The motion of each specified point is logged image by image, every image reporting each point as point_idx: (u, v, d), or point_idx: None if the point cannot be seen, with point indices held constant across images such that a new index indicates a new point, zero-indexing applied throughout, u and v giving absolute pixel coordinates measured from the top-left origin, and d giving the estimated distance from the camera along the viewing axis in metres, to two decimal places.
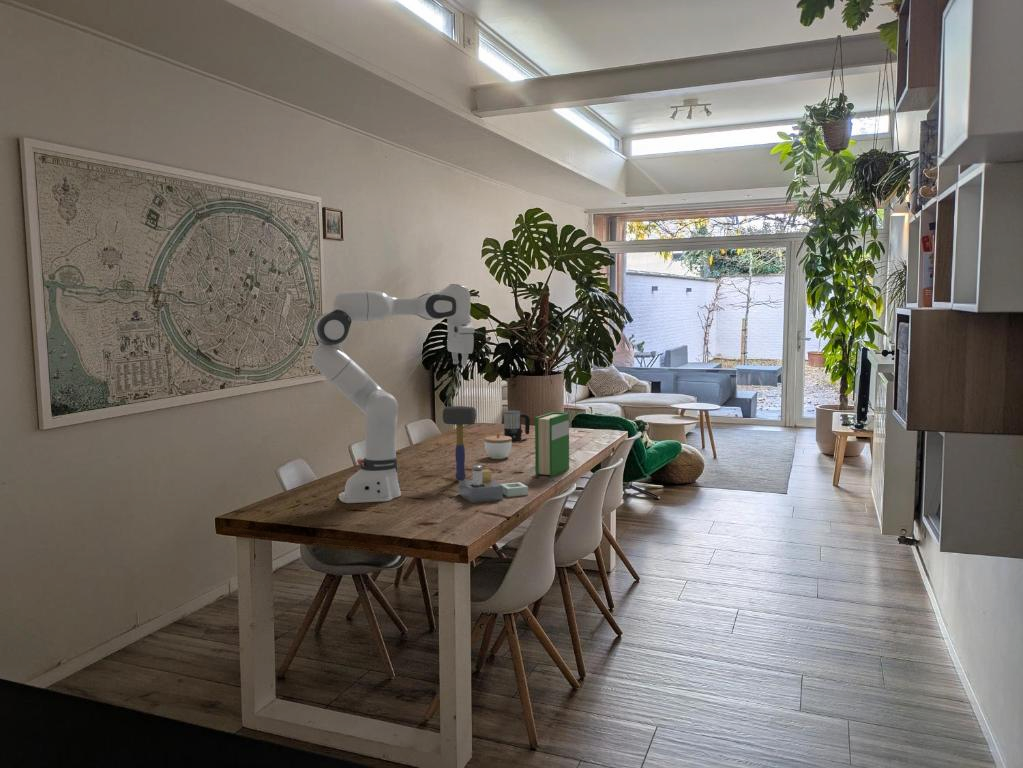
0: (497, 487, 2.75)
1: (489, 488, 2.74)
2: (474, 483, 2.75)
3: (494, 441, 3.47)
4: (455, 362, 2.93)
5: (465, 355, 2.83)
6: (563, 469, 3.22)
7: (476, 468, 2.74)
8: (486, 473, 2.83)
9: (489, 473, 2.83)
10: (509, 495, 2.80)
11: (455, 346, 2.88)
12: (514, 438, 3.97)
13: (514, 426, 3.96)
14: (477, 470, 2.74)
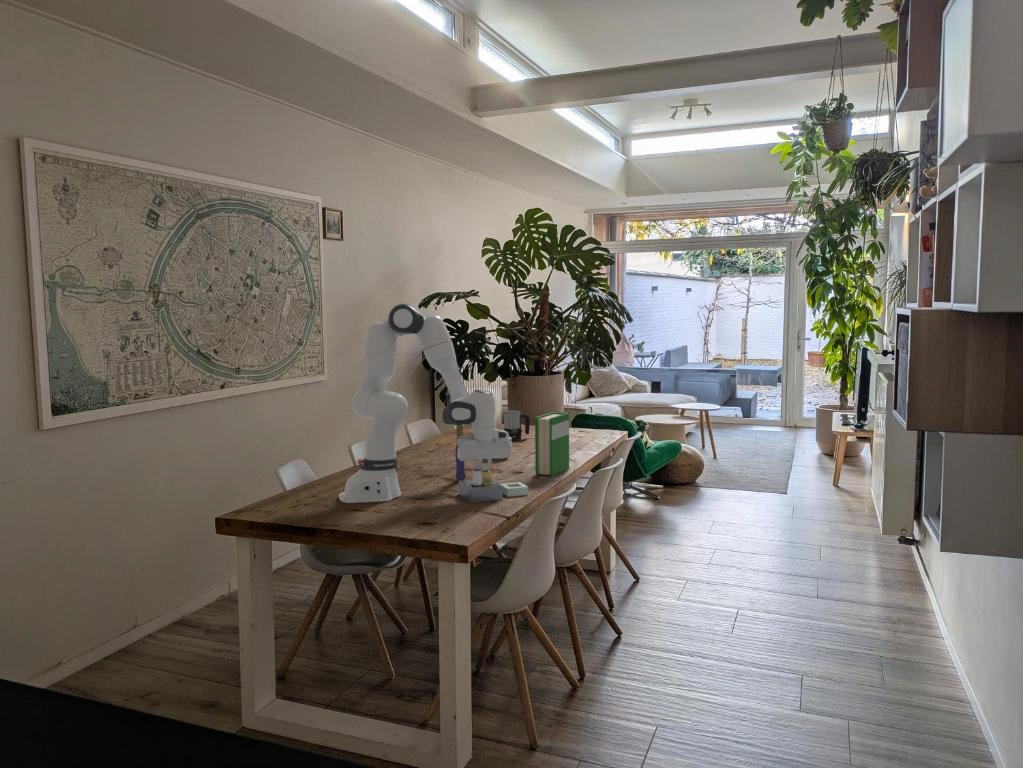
0: (497, 487, 2.75)
1: (489, 488, 2.74)
2: (474, 483, 2.75)
3: None
4: None
5: None
6: (563, 469, 3.22)
7: (476, 468, 2.74)
8: (486, 473, 2.83)
9: (489, 473, 2.83)
10: (509, 495, 2.80)
11: (486, 452, 2.82)
12: (514, 438, 3.97)
13: (514, 426, 3.97)
14: (477, 470, 2.74)
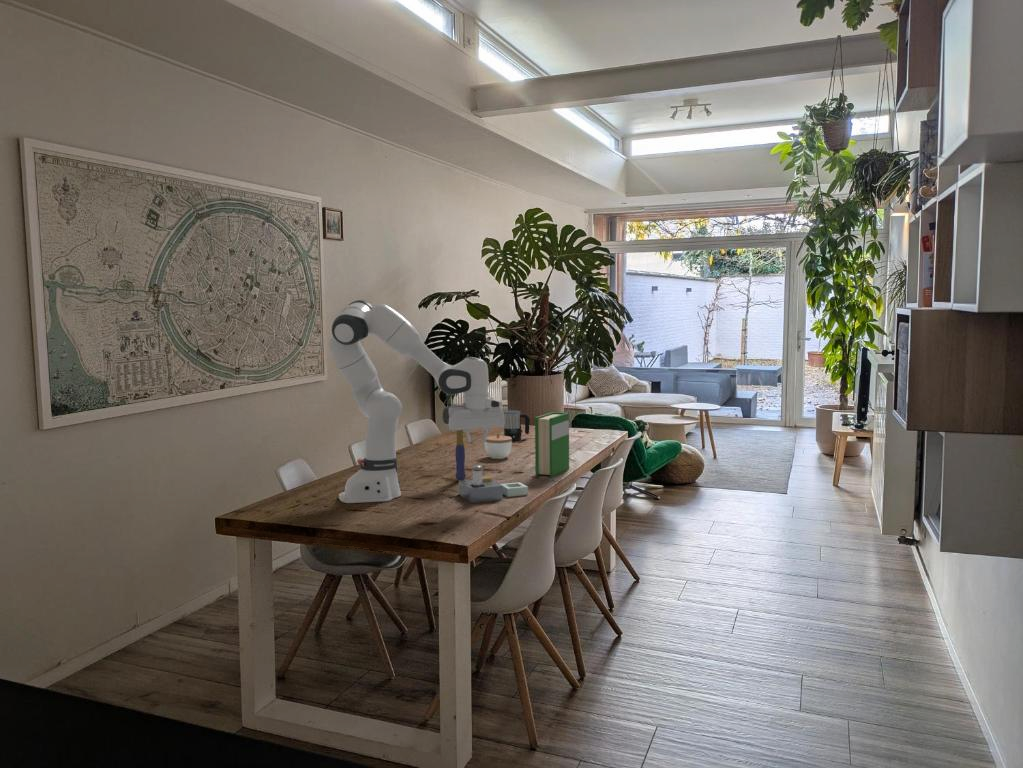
0: (497, 487, 2.75)
1: (489, 488, 2.74)
2: (474, 483, 2.75)
3: (494, 441, 3.47)
4: None
5: None
6: (563, 469, 3.22)
7: (476, 468, 2.74)
8: (486, 480, 2.83)
9: (489, 480, 2.83)
10: (509, 495, 2.80)
11: (479, 422, 2.73)
12: (514, 438, 3.97)
13: (514, 426, 3.97)
14: (477, 470, 2.74)
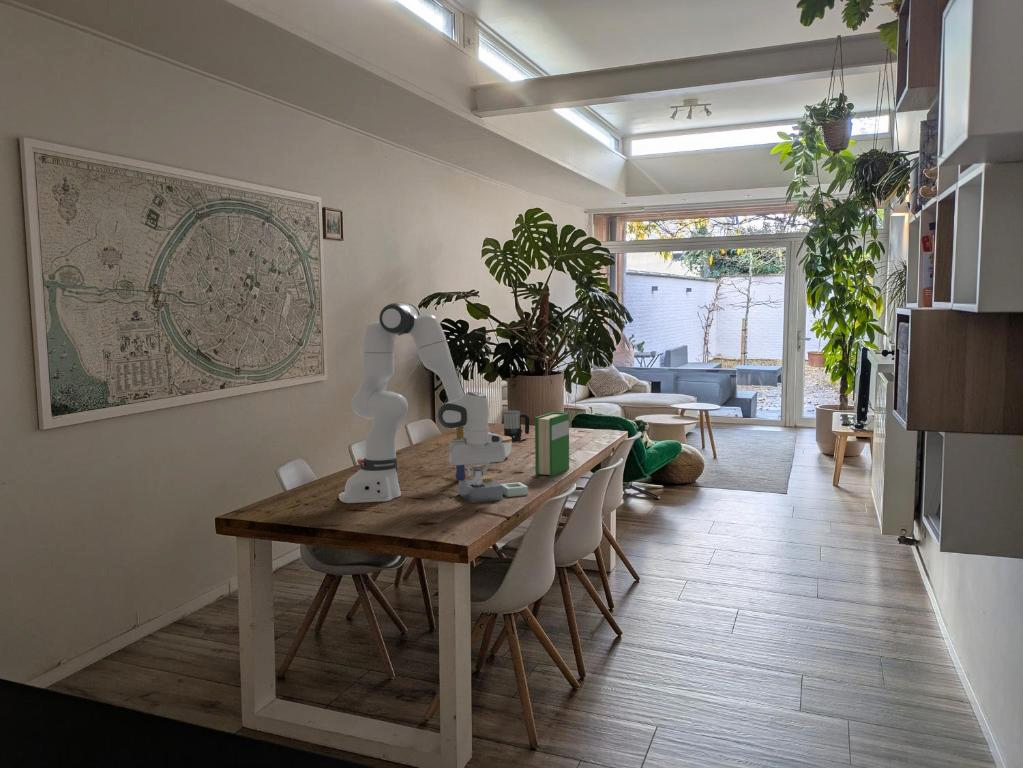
0: (497, 487, 2.75)
1: (489, 488, 2.74)
2: (474, 483, 2.75)
3: None
4: None
5: None
6: (563, 469, 3.22)
7: (476, 468, 2.74)
8: (486, 480, 2.83)
9: (489, 480, 2.83)
10: (509, 495, 2.80)
11: (479, 457, 2.74)
12: (514, 438, 3.97)
13: (513, 426, 3.97)
14: (477, 470, 2.74)
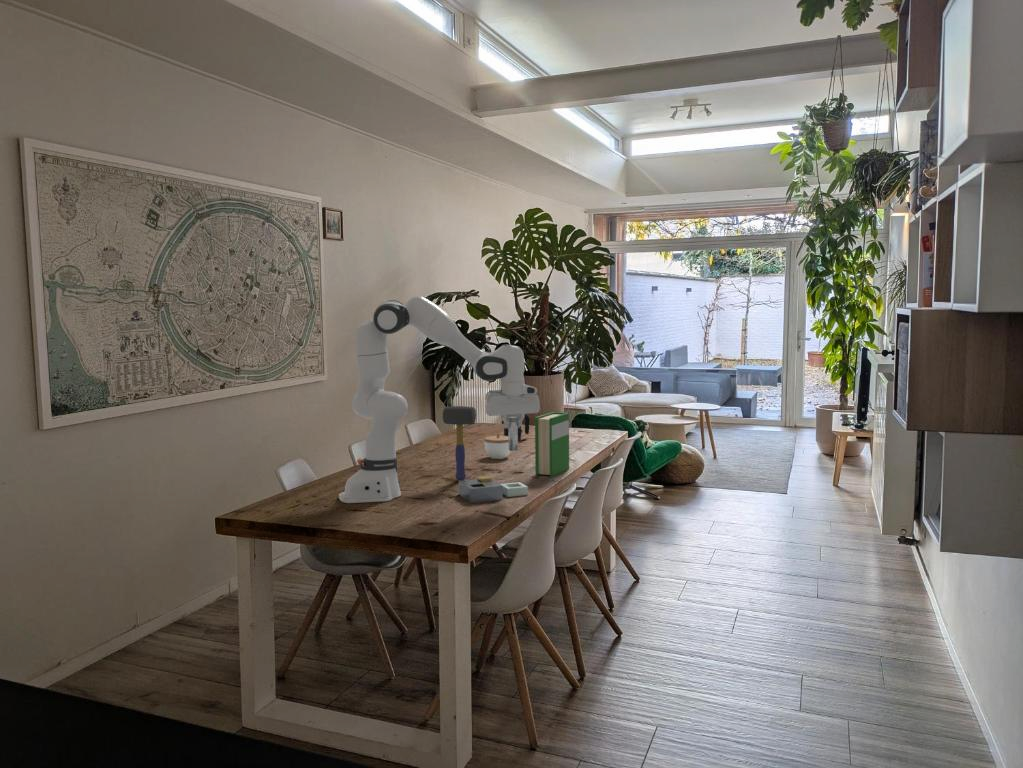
0: (497, 487, 2.75)
1: (489, 488, 2.74)
2: (510, 434, 2.82)
3: (494, 441, 3.47)
4: None
5: None
6: (563, 469, 3.22)
7: (512, 419, 2.81)
8: (486, 480, 2.83)
9: (489, 480, 2.83)
10: (509, 495, 2.80)
11: (515, 408, 2.80)
12: None
13: None
14: (513, 421, 2.81)
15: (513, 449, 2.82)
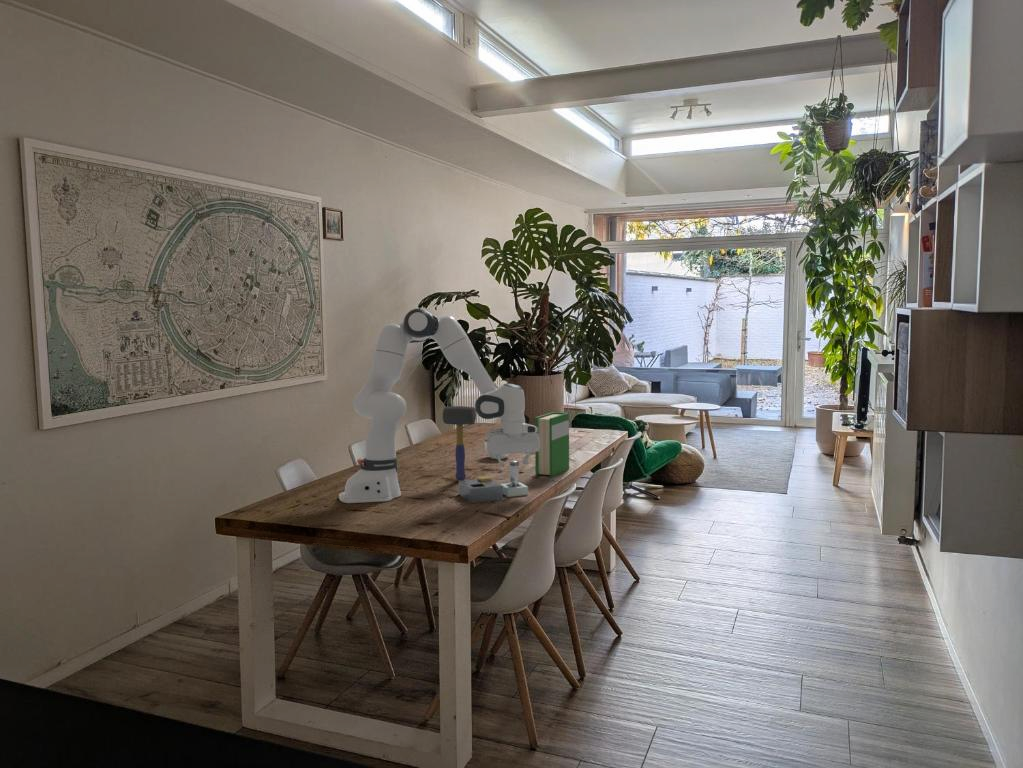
0: (497, 487, 2.75)
1: (489, 488, 2.74)
2: (511, 478, 2.83)
3: None
4: None
5: None
6: (563, 469, 3.22)
7: (513, 463, 2.82)
8: (486, 480, 2.83)
9: (489, 480, 2.83)
10: (509, 495, 2.80)
11: (516, 447, 2.82)
12: None
13: None
14: (514, 465, 2.82)
15: None
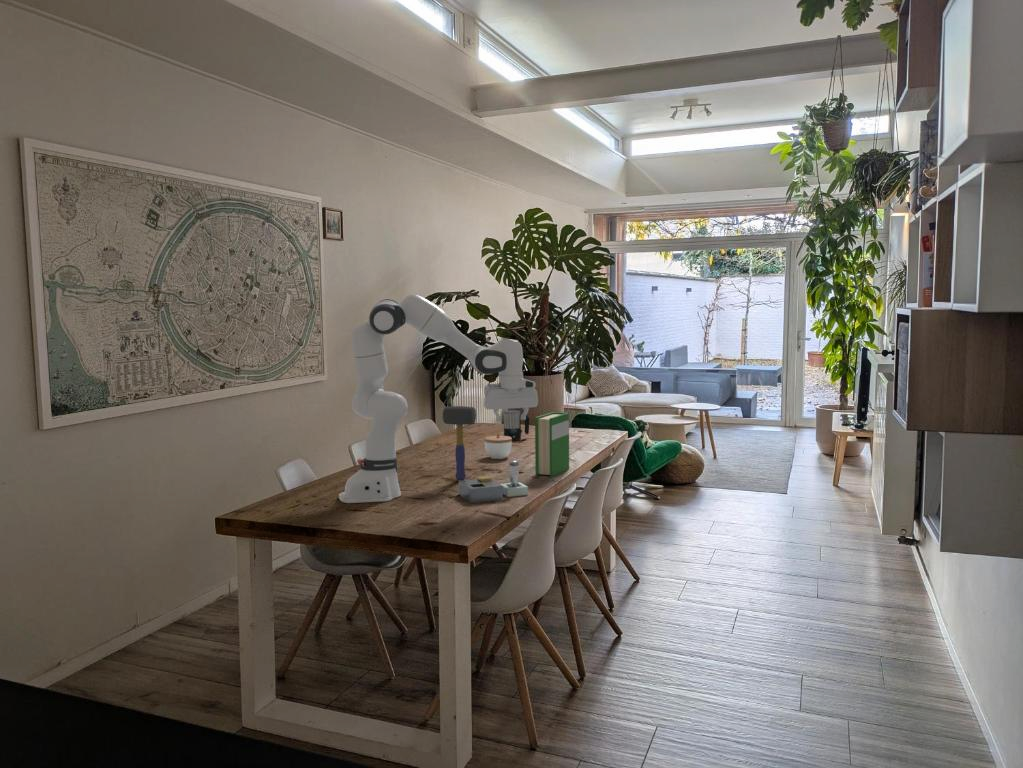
0: (497, 487, 2.75)
1: (489, 488, 2.74)
2: (511, 478, 2.83)
3: (494, 441, 3.47)
4: None
5: None
6: (563, 469, 3.22)
7: (513, 463, 2.82)
8: (486, 480, 2.83)
9: (489, 480, 2.83)
10: (509, 495, 2.80)
11: (513, 402, 2.81)
12: (513, 438, 3.97)
13: (513, 426, 3.97)
14: (514, 465, 2.82)
15: None
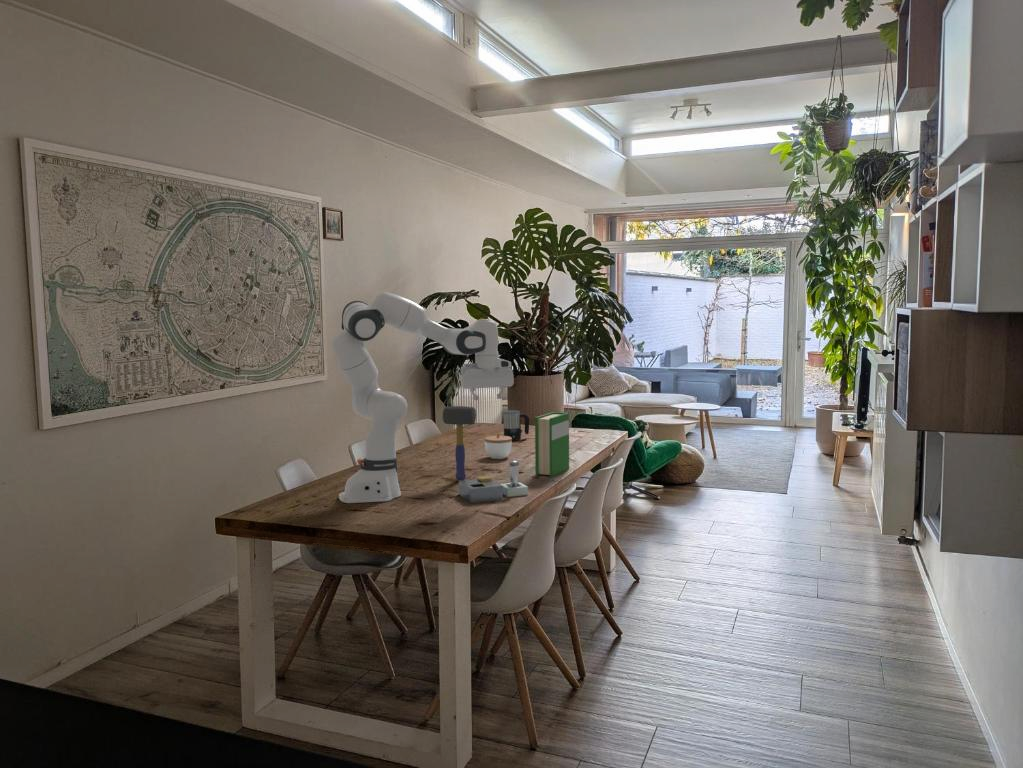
0: (497, 487, 2.75)
1: (489, 488, 2.74)
2: (511, 478, 2.83)
3: (494, 441, 3.47)
4: None
5: None
6: (563, 469, 3.22)
7: (513, 463, 2.82)
8: (486, 480, 2.83)
9: (489, 480, 2.83)
10: (509, 495, 2.80)
11: (489, 381, 2.88)
12: (513, 438, 3.97)
13: (513, 425, 3.97)
14: (514, 465, 2.82)
15: None
